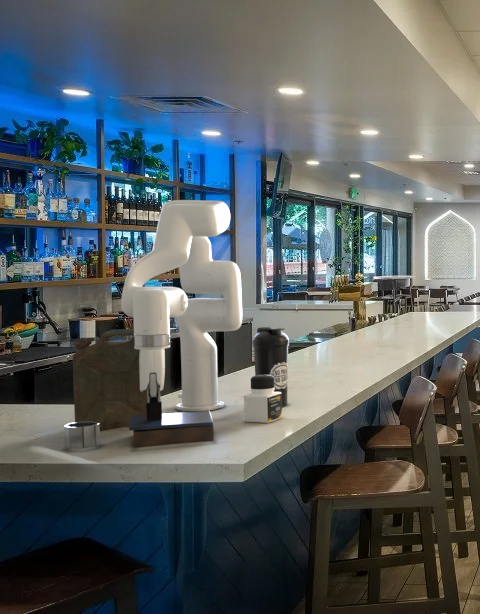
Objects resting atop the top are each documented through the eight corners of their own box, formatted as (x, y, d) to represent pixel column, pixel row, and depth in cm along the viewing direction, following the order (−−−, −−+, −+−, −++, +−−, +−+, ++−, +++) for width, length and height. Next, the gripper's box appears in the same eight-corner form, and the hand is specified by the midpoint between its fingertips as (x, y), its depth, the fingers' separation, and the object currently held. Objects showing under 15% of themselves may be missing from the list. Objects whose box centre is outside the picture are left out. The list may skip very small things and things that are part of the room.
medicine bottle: (268, 423, 207) (267, 377, 206) (243, 422, 208) (242, 377, 207) (282, 417, 214) (281, 374, 213) (258, 416, 215) (257, 373, 214)
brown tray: (133, 451, 177) (133, 432, 177) (135, 437, 190) (135, 420, 190) (213, 443, 184) (213, 425, 184) (210, 431, 197) (209, 414, 197)
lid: (129, 430, 176) (129, 427, 176) (131, 418, 189) (131, 415, 189) (213, 425, 184) (213, 422, 184) (209, 414, 197) (209, 410, 197)
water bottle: (269, 410, 224) (268, 329, 223) (246, 406, 229) (244, 328, 228) (297, 404, 233) (296, 327, 231) (274, 401, 238) (273, 325, 237)
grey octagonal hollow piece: (60, 449, 179) (59, 425, 178) (90, 443, 184) (89, 420, 184) (74, 453, 175) (73, 428, 175) (104, 447, 180) (104, 423, 180)
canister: (162, 422, 208) (159, 327, 206) (156, 428, 200) (153, 330, 198) (82, 426, 203) (79, 329, 201) (72, 433, 195) (69, 332, 193)
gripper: (135, 339, 189) (137, 415, 190) (133, 345, 175) (135, 427, 177) (169, 338, 192) (171, 412, 193) (170, 344, 179) (172, 424, 180)
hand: (154, 419), depth 185 cm, fingers closed
